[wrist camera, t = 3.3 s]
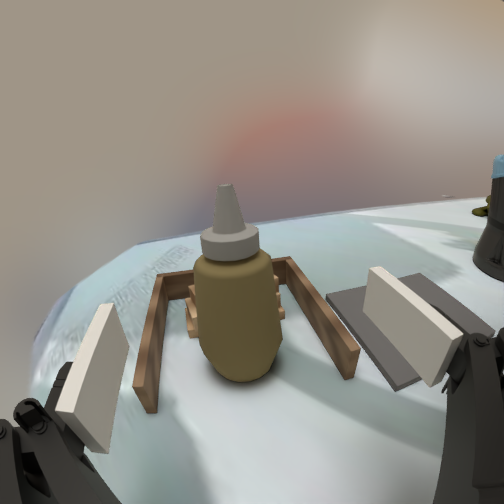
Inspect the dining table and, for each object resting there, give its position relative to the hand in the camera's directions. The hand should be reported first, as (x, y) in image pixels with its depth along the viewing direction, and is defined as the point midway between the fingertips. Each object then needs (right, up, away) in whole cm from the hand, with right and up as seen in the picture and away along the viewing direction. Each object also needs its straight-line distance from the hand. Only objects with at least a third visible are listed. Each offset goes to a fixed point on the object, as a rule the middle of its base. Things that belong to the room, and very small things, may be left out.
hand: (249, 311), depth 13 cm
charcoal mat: (+21, -6, +17) cm, 28 cm away
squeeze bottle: (-1, -9, +14) cm, 17 cm away
